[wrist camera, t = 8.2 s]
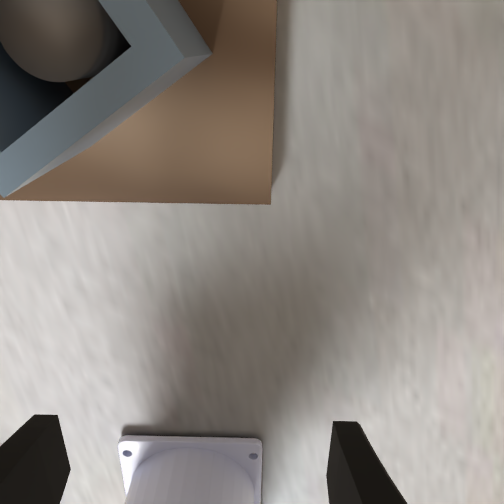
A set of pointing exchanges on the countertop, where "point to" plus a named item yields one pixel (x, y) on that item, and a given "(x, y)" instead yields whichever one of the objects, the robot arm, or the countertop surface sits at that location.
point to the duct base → (159, 105)
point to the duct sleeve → (92, 91)
